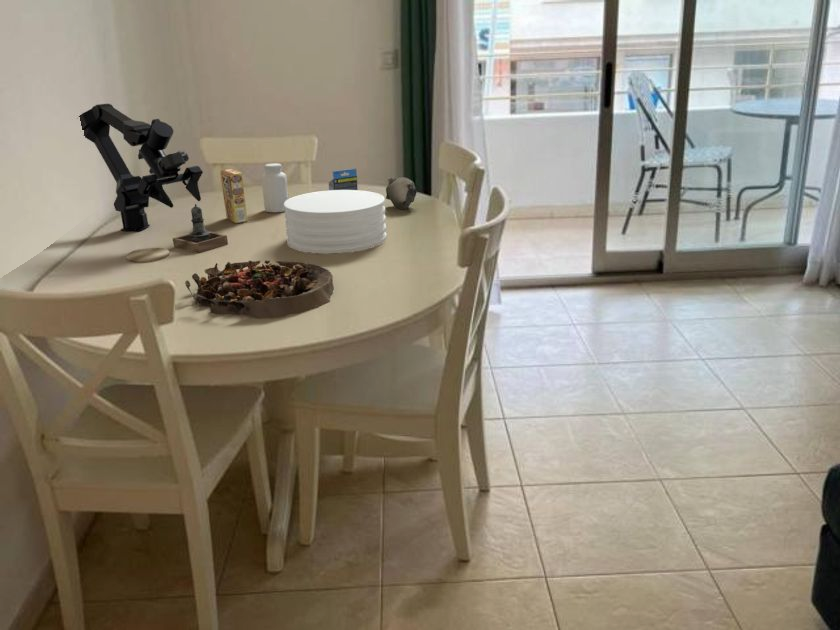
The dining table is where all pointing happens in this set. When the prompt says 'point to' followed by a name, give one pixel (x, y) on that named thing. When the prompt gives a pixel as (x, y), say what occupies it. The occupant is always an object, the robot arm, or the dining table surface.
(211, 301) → the food dish
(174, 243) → the bin frame
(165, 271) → the dining table surface
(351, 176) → the label tape box
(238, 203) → the candy box
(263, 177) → the pill bottle
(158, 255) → the coaster
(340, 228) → the plate stack
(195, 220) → the grey tall carved piece
